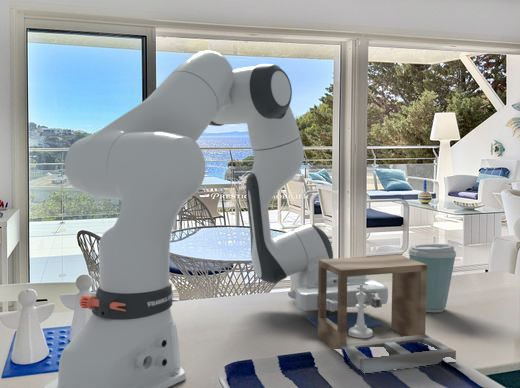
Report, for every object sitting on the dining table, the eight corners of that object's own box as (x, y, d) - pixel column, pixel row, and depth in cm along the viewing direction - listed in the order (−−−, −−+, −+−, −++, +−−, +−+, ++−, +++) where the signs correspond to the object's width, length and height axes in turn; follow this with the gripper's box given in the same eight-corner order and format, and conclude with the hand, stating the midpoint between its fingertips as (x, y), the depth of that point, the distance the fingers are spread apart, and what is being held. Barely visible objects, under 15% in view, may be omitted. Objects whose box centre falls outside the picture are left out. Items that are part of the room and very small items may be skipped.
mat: (307, 319, 117) (307, 317, 117) (361, 313, 121) (361, 312, 121) (324, 332, 108) (324, 330, 108) (381, 326, 112) (381, 324, 112)
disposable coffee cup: (401, 311, 122) (403, 246, 121) (411, 300, 132) (413, 239, 131) (451, 318, 117) (453, 250, 116) (457, 306, 127) (459, 242, 126)
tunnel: (317, 336, 106) (318, 259, 105) (396, 328, 111) (398, 254, 110) (364, 374, 88) (365, 281, 86) (455, 362, 93) (458, 274, 91)
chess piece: (355, 328, 111) (356, 280, 110) (377, 333, 108) (378, 283, 107) (343, 334, 107) (343, 284, 106) (365, 340, 104) (366, 288, 103)
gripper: (285, 278, 118) (309, 293, 105) (369, 272, 124) (402, 286, 111) (284, 306, 118) (309, 325, 105) (368, 299, 124) (401, 316, 111)
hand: (357, 305), depth 108 cm, fingers open, 8 cm apart
